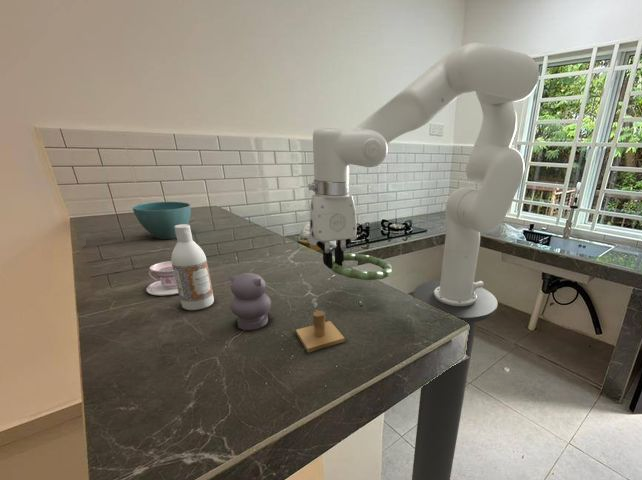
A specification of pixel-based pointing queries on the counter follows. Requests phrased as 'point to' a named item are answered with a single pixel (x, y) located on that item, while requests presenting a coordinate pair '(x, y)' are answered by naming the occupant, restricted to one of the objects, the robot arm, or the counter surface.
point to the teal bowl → (162, 217)
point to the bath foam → (191, 271)
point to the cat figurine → (249, 300)
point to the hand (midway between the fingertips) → (333, 265)
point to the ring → (362, 274)
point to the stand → (319, 333)
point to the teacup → (163, 280)
